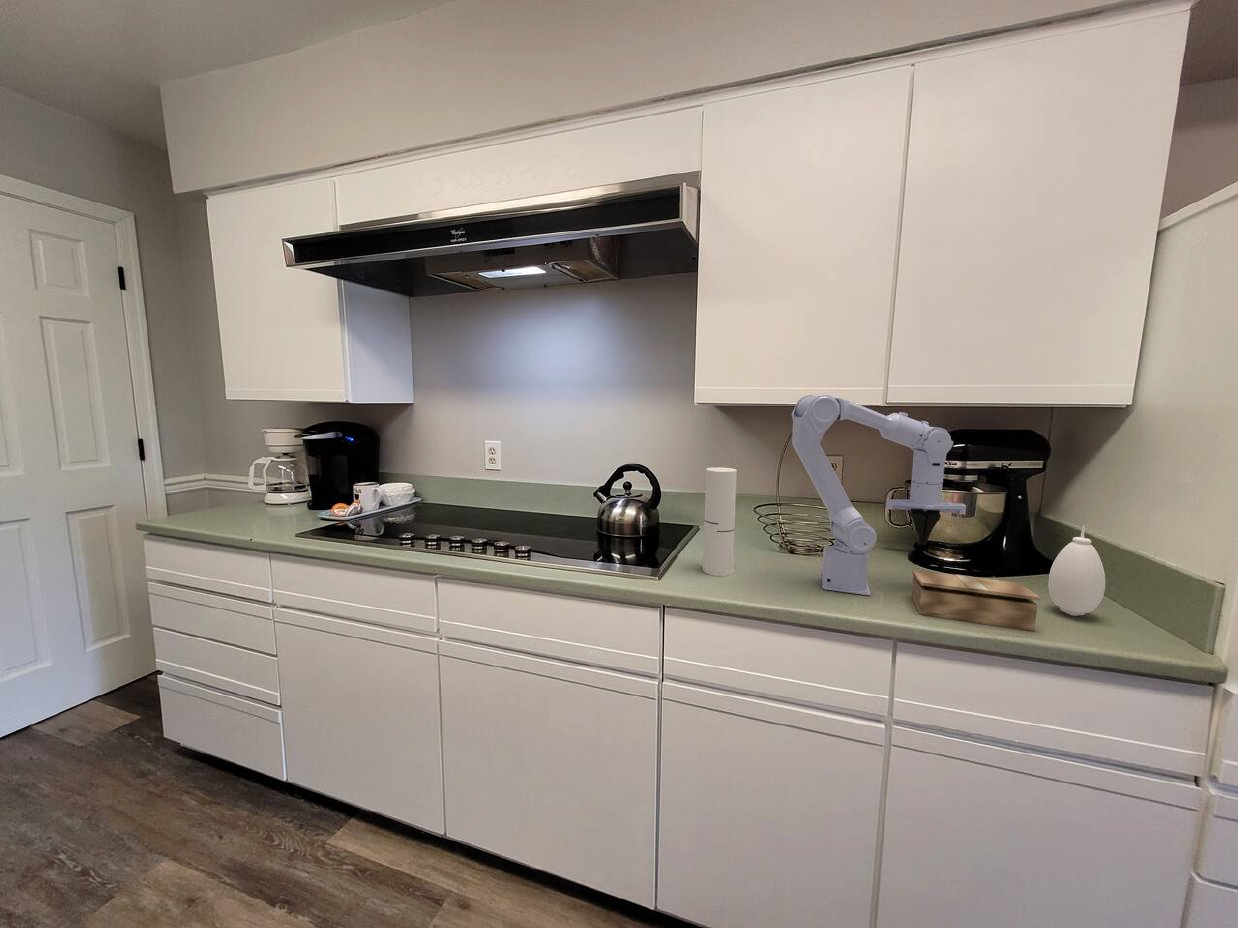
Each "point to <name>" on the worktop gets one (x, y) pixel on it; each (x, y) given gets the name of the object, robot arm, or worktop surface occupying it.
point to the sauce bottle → (1077, 577)
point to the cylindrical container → (719, 521)
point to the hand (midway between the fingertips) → (921, 543)
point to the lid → (974, 584)
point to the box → (974, 607)
